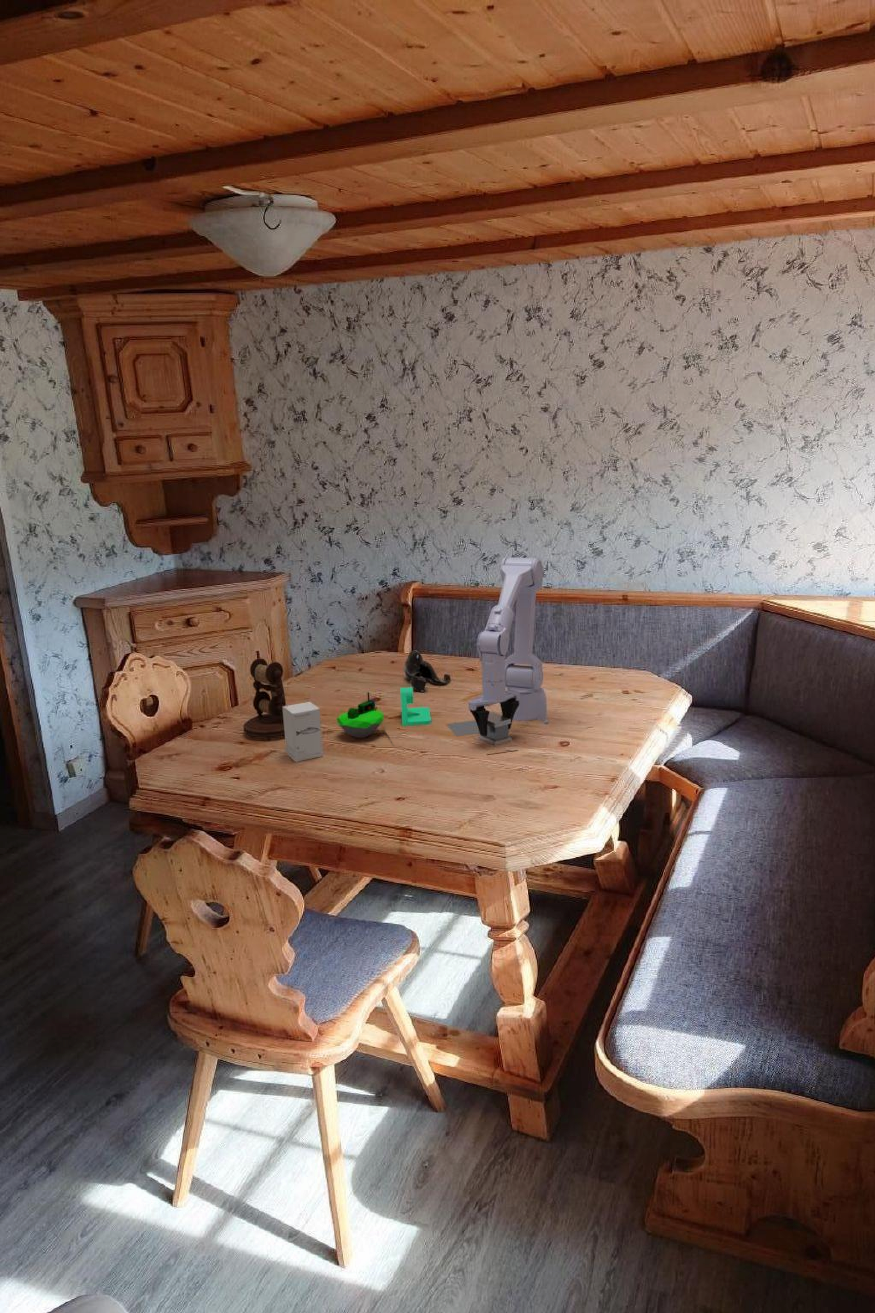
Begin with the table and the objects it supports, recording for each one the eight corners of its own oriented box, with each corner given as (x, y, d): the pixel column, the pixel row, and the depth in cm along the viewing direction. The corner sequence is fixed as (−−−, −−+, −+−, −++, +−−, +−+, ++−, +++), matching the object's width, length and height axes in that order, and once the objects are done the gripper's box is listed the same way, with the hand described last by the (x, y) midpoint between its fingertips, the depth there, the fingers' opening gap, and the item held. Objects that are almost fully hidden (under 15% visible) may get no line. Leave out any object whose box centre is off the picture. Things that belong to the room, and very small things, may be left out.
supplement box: (295, 763, 225) (291, 713, 222) (285, 753, 231) (281, 705, 228) (324, 756, 228) (320, 708, 225) (313, 748, 234) (309, 700, 231)
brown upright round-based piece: (311, 730, 248) (305, 658, 243) (266, 745, 238) (259, 670, 233) (277, 719, 258) (271, 650, 253) (233, 734, 248) (225, 662, 242)
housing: (493, 734, 234) (493, 712, 232) (511, 741, 228) (510, 718, 227) (478, 739, 231) (477, 716, 230) (495, 746, 225) (494, 723, 224)
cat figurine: (441, 682, 296) (451, 708, 280) (399, 674, 293) (407, 700, 277) (450, 655, 293) (460, 679, 277) (408, 646, 289) (416, 670, 273)
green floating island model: (359, 726, 250) (356, 687, 247) (393, 732, 243) (390, 692, 241) (329, 739, 241) (325, 698, 238) (363, 746, 234) (360, 704, 231)
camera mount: (431, 730, 244) (429, 693, 242) (402, 731, 244) (400, 694, 241) (429, 715, 256) (427, 680, 253) (401, 717, 256) (399, 681, 253)
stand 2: (504, 738, 235) (504, 732, 235) (517, 750, 226) (517, 745, 226) (474, 742, 233) (474, 736, 233) (486, 755, 224) (486, 749, 224)
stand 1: (474, 725, 246) (474, 720, 245) (486, 737, 236) (486, 732, 236) (446, 729, 244) (445, 724, 243) (456, 741, 234) (456, 736, 234)
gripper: (506, 670, 232) (508, 721, 236) (460, 681, 225) (462, 734, 228) (524, 675, 227) (525, 728, 230) (477, 687, 219) (479, 741, 222)
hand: (495, 731), depth 229 cm, fingers open, 7 cm apart
